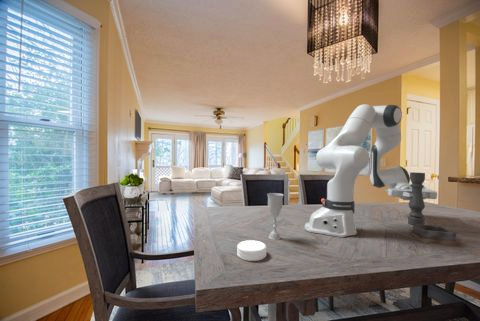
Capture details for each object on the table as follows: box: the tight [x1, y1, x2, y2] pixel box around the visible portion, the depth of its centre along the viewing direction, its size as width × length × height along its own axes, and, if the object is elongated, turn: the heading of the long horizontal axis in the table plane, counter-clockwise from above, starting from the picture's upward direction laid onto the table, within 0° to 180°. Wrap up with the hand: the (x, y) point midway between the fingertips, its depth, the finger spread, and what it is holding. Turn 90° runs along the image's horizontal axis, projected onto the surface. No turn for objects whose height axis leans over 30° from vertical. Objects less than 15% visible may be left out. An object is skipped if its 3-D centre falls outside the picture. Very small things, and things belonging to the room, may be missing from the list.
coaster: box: [236, 239, 267, 262], centre depth 76 cm, size 10×10×4 cm
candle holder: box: [407, 171, 426, 226], centre depth 108 cm, size 6×6×25 cm
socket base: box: [409, 224, 461, 247], centre depth 93 cm, size 12×12×4 cm
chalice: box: [266, 192, 284, 241], centre depth 93 cm, size 7×7×18 cm
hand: (417, 195), depth 107 cm, fingers closed on candle holder, 4 cm apart
